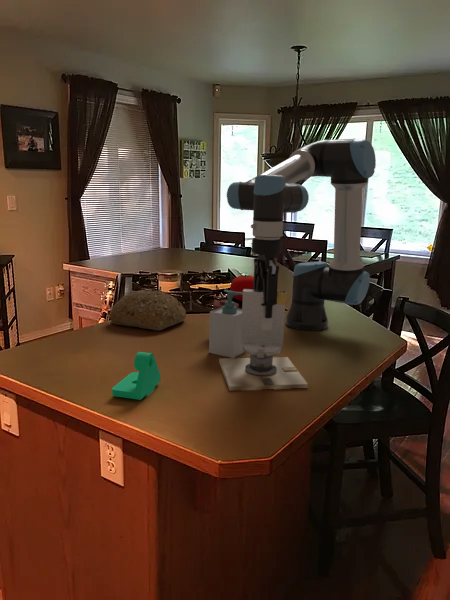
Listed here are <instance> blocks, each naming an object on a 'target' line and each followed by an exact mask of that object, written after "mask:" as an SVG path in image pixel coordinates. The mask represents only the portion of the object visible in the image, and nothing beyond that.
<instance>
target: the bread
mask: <svg viewBox="0 0 450 600" xmlns="http://www.w3.org/2000/svg"><path fill="white" fill-rule="evenodd" d="M186 312H187V311H186V309H185V307H184V306H183V304H182V303H181V302H180V301H178V298H176V297H174V296H172V295H171V294H169V293H165V292H162V291H159V290H154V289H141V290H137V291H135V292H133V291H131V292H130V293H127V294H126V295H123V296H122V297H121V298H120V299H119V300H118V301H117V302H116V303H115V304H114V305H113V307H111V309H110V315H109V319H110V321H111V323H112V324H113V325H117V326H124V327H130V328H131V327H132V328H140V329H145V330H146V329H147V330H153V331H156V332H157V331H163V330H164V329H165V330H166V329H167V328H170V327H173V326H175V325H176V324H179V323H181V322H184V320H185V319H186V317H187V313H186Z"/></svg>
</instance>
